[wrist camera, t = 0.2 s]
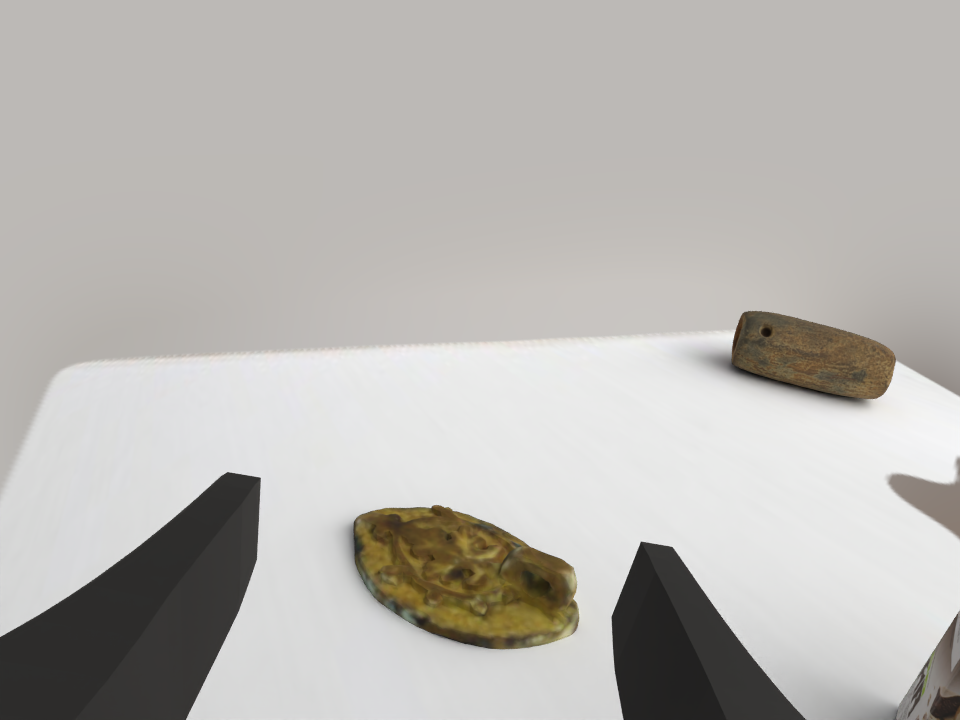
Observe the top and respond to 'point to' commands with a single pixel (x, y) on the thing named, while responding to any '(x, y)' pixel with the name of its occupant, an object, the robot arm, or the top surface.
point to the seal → (465, 578)
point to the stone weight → (812, 355)
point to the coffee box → (937, 682)
